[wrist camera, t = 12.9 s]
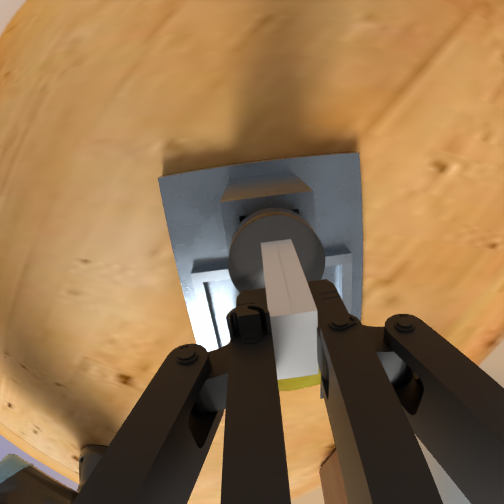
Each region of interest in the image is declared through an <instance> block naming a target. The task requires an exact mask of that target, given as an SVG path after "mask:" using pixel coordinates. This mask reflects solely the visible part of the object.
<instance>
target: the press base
mask: <svg viewBox="0 0 504 504" xmlns="http://www.w3.org/2000/svg"><path fill="white" fill-rule="evenodd" d="M158 181H159V186H160V192H161V197H162V202H163V207H164V212H165V216H166V221H167V226H168V231H169V235H170V240H171V244H172V249H173V253H174V257H175V262H176V266H177V270H178V274H179V278H180V282H181V286H182V290H183V294H184V298H185V302H186V306H187V310H188V313H189V317H190V321H191V324H192V328H193V332H194V335H195V339H196V342H197V344H198V345H202V346H203V347H205V348H206V349H207V352H209V351H212V350H215V349H218V348H221V347H223V346H225V345H226V344H228V343H229V342H230V335H229V330H228V325H227V321H226V316H227V314H228V312H230V311H231V310H232V309H233V308H236V298H237V296H238V295H239V294H240V293H239V292H238V290H237V289H236V288H235V286H234V285H233V283H232V281H231V278H230V275H229V271H228V257H229V250H230V244H231V239H232V236H233V234H234V232H235V230H236V228H237V227H238V225H239V224H240V223H241V222H242V221H243V220H244V219H245V218H246V217H248V216H249V215H251V214H252V213H254V212H256V211H259V210H262V209H266V208H284V209H288V210H291V211H294V212H296V213H298V214H299V215H301V216H302V217H303V218H304V219H306V220H307V221H308V223H309V224H310V225H311V227H312V228H313V230H314V231H315V233H316V234H317V236H318V238H319V239H320V241H321V243H322V245H323V248H324V252H325V259H326V260H325V270H324V273H323V276H322V279H321V280H323V279H327V280H329V281H330V282H332V283H333V284H334V285H335V287H336V289H337V291H338V293H339V295H340V297H341V299H342V300H343V302H344V304H345V306H346V308H347V310H348V312H349V314H351V315H353V316H355V317H357V318H358V319H359V320H360V322H361V304H362V272H363V225H362V193H361V174H360V159H359V153H357V152H341V153H328V154H315V155H304V156H294V157H284V158H275V159H267V160H258V161H251V162H243V163H236V164H229V165H222V166H215V167H209V168H203V169H196V170H190V171H185V172H179V173H173V174H168V175H163V176H161V177H159V178H158Z"/></svg>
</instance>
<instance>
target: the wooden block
mask: <svg viewBox="0 0 504 504" xmlns="http://www.w3.org/2000/svg"><path fill="white" fill-rule="evenodd" d="M319 473H320V479H321V484H322V490H323V496H324V502H325V504H348V500H347V496H346V491H345V486H344V482H343V477H342V473H341V468H340V464H339V459H338V455H337V450H335V451H334V453H333V454H332V455H331V456H330V457H329V459H328V460H327V461H326V462H325V463H324V464H323V466H322V467H321V468H320V471H319Z"/></svg>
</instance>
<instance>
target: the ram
mask: <svg viewBox="0 0 504 504" xmlns="http://www.w3.org/2000/svg"><path fill="white" fill-rule="evenodd" d="M287 239H291V240H292V243H293V246H294V248H295V251H296V254H297V256H298V259H299V262H300V264H301V267H302V270H303V272H304V275H305V278H306V281H307V282H308V281H316V280H321V279H322V276H323V273H324V270H325V260H326V259H325V252H324V248H323V245H322V243H321V241H320V239H319V238H318V236H317V234H316V233H315V231H314V230H313V228H312V227H311V225H310V224H309V223H308V221H307V220H306V219H304V218H303V217H302V216H301V215H299V214H298V213H296V212H294V211H291V210H288V209H284V208H266V209H262V210H259V211H256V212H254V213H252V214H251V215H249V216H248V217H246V218H245V219H244V220H243V221H242V222H241V223H240V224H239V225H238V227H237V228H236V230H235V232H234V234H233V236H232V239H231V244H230V250H229V257H228V271H229V275H230V278H231V281H232V283H233V285H234V286H235V288H236V289H237V290H238V292H239V293H241V291H245V290H253V289H261V288H266V287H265V278H264V269H263V259H262V250H261V243H264V242H272V241H279V240H287Z"/></svg>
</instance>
